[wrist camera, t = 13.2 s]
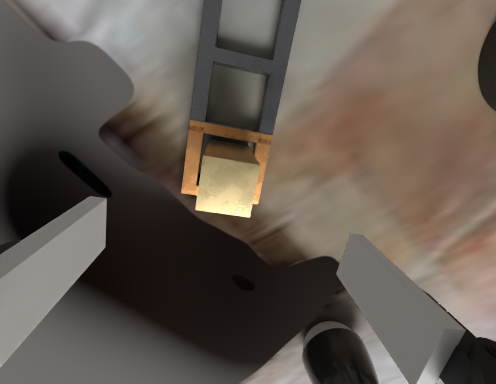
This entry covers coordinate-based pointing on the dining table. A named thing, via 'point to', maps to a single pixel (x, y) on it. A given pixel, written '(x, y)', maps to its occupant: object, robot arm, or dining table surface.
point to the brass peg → (227, 179)
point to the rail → (244, 62)
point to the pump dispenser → (337, 356)
